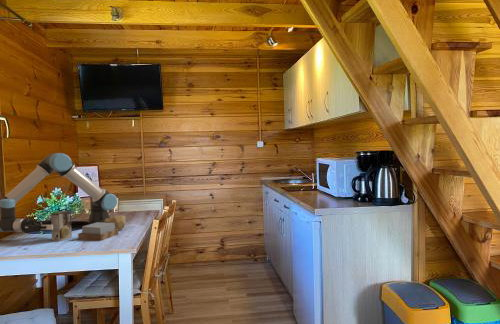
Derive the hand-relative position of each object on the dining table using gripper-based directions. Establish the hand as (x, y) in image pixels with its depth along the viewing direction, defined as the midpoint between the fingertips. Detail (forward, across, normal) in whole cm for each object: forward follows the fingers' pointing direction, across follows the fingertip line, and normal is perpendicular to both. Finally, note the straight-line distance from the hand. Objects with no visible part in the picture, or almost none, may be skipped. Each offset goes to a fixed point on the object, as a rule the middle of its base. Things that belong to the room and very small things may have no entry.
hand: (59, 224), depth 210 cm
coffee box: (+1, 0, -9) cm, 9 cm away
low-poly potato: (+24, -24, -9) cm, 35 cm away
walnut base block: (+21, -6, -10) cm, 24 cm away
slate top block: (+21, -6, -6) cm, 22 cm away
